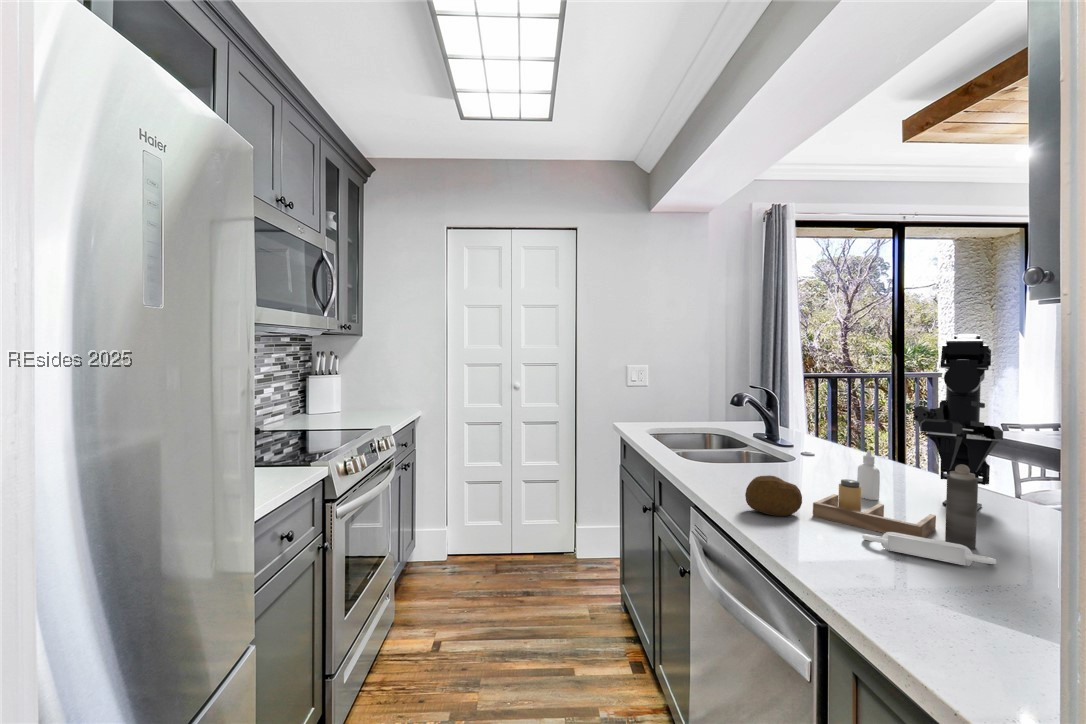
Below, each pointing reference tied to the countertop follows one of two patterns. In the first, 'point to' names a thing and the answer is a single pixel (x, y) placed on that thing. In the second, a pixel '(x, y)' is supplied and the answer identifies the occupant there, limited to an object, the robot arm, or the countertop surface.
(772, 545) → the countertop surface
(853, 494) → the amber jar
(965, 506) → the pepper mill
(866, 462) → the eye dropper bottle
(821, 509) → the slot rack
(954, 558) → the rolling pin
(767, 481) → the potato
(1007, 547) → the countertop surface
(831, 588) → the countertop surface
